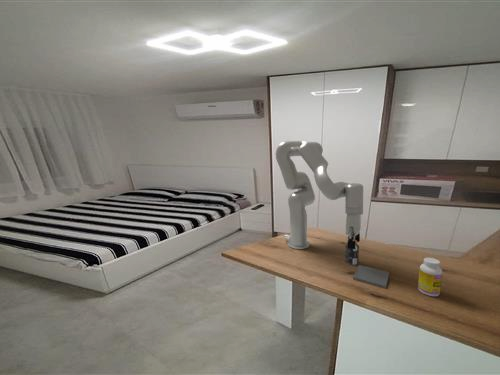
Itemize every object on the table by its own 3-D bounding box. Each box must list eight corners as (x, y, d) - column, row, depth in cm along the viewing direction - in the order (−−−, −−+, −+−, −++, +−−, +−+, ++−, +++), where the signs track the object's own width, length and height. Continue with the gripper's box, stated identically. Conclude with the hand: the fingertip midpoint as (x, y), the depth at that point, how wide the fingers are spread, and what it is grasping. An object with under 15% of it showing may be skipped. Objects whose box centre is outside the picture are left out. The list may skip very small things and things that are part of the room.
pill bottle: (359, 265, 108) (360, 242, 106) (346, 264, 109) (347, 242, 107) (356, 259, 113) (357, 237, 111) (343, 258, 115) (344, 237, 113)
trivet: (353, 279, 97) (353, 277, 97) (359, 266, 106) (359, 264, 106) (385, 288, 90) (385, 286, 90) (389, 274, 99) (389, 272, 99)
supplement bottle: (432, 299, 83) (436, 266, 81) (413, 289, 89) (416, 258, 87) (443, 294, 85) (447, 262, 83) (424, 284, 91) (427, 254, 89)
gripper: (350, 205, 116) (349, 237, 118) (340, 213, 102) (340, 249, 104) (366, 206, 111) (365, 240, 114) (358, 215, 97) (358, 253, 100)
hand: (353, 244), depth 109 cm, fingers open, 9 cm apart
